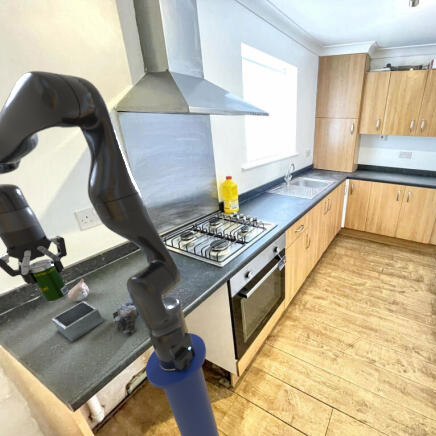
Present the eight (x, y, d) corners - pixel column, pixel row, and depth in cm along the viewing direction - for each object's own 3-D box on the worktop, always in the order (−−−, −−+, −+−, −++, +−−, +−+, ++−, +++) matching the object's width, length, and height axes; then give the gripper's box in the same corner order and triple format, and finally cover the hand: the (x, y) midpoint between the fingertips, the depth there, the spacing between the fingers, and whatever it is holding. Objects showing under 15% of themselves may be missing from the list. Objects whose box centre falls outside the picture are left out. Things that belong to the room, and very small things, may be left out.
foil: (161, 296, 90) (128, 305, 75) (154, 325, 89) (119, 339, 74) (136, 290, 92) (99, 297, 78) (129, 318, 91) (90, 331, 76)
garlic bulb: (92, 298, 94) (85, 283, 90) (71, 307, 90) (62, 291, 86) (90, 290, 98) (83, 275, 95) (70, 298, 94) (62, 282, 91)
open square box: (103, 321, 83) (97, 308, 81) (72, 341, 76) (65, 328, 73) (89, 312, 87) (83, 300, 85) (58, 331, 80) (51, 318, 77)
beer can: (72, 288, 74) (55, 256, 69) (65, 299, 69) (47, 266, 64) (50, 293, 72) (31, 261, 67) (42, 305, 67) (21, 272, 62)
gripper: (-20, 240, 53) (17, 297, 60) (59, 217, 65) (82, 267, 72) (-30, 233, 56) (6, 288, 63) (47, 212, 68) (70, 261, 75)
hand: (46, 277), depth 67 cm, fingers closed on beer can, 5 cm apart
